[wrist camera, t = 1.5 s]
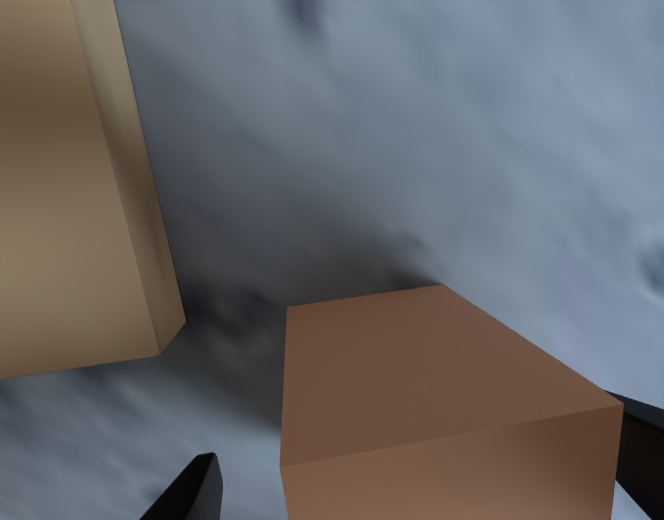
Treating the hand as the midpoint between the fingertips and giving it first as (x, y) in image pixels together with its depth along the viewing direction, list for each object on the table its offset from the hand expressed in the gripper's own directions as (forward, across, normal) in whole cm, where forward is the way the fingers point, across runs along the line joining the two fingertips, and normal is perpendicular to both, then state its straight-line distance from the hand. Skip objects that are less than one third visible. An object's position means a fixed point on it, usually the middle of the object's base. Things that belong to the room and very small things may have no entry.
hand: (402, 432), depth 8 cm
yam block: (+3, 0, 0) cm, 3 cm away
